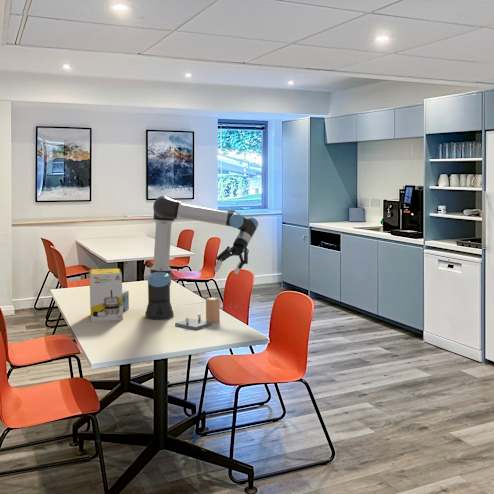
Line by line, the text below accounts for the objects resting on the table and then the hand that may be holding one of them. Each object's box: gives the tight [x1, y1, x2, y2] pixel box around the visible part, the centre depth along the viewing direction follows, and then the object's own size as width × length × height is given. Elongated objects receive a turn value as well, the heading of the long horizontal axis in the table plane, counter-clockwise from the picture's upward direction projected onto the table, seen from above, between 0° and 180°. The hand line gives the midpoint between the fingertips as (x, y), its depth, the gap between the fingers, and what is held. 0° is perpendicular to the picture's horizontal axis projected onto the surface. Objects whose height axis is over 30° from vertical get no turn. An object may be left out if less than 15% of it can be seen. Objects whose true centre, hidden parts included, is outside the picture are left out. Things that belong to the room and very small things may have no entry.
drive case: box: [205, 296, 221, 324], centre depth 316 cm, size 5×5×12 cm
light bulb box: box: [122, 289, 130, 313], centre depth 341 cm, size 11×7×11 cm, turn 169°
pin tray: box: [174, 313, 213, 331], centre depth 307 cm, size 14×12×5 cm
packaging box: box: [88, 268, 124, 322], centre depth 324 cm, size 16×16×25 cm
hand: (225, 271), depth 325 cm, fingers open, 13 cm apart
